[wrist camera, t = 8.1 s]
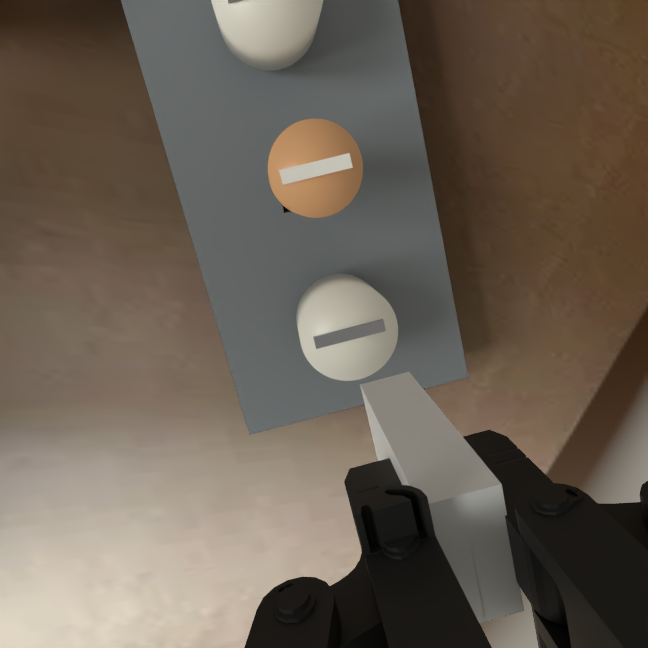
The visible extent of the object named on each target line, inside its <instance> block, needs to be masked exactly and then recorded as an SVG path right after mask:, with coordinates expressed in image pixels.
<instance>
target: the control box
mask: <svg viewBox="0 0 648 648" xmlns="http://www.w3.org/2000/svg"><path fill="white" fill-rule="evenodd" d="M121 3H122V6H123V9H124V13H125V16H126V20H127V23H128V26H129V30H130V33H131V36H132V40H133V43H134V46H135V50H136V53H137V57H138V60H139V63H140V67H141V70H142V73H143V77H144V80H145V84H146V87H147V90H148V94H149V97H150V100H151V104H152V107H153V111H154V114H155V117H156V121H157V124H158V127H159V131H160V134H161V138H162V141H163V144H164V148H165V151H166V154H167V158H168V161H169V165H170V168H171V171H172V175H173V178H174V181H175V185H176V188H177V192H178V195H179V198H180V202H181V205H182V208H183V212H184V215H185V219H186V222H187V225H188V229H189V232H190V235H191V239H192V242H193V246H194V249H195V252H196V256H197V259H198V262H199V266H200V269H201V272H202V276H203V279H204V283H205V286H206V289H207V293H208V296H209V299H210V303H211V306H212V310H213V313H214V316H215V320H216V323H217V326H218V330H219V333H220V337H221V340H222V343H223V347H224V350H225V353H226V357H227V360H228V364H229V367H230V370H231V374H232V377H233V380H234V384H235V387H236V391H237V394H238V397H239V401H240V404H241V407H242V411H243V414H244V418H245V421H246V424H247V428H248V431H249V434H250V435H251V434H254V433H258V432H262V431H266V430H270V429H273V428H277V427H281V426H285V425H289V424H292V423H296V422H300V421H304V420H308V419H311V418H315V417H319V416H323V415H327V414H330V413H334V412H338V411H342V410H346V409H349V408H353V407H357V406H361V405H365V404H364V399H363V395H362V391H361V387H360V384H364V383H368V382H371V381H375V380H379V379H383V378H387V377H391V376H394V375H398V374H402V373H406V372H410V373H411V375H412V376H413V377H414V378H415V379H416V381H417V382H418V383H419V384H420V386H421V387H422V388H423V389H425V388H429V387H433V386H437V385H441V384H444V383H448V382H452V381H456V380H460V379H463V378H467V377H468V373H467V367H466V362H465V357H464V351H463V346H462V341H461V335H460V330H459V325H458V319H457V314H456V308H455V303H454V298H453V292H452V287H451V282H450V276H449V271H448V266H447V260H446V255H445V249H444V244H443V239H442V233H441V228H440V223H439V217H438V212H437V207H436V201H435V196H434V190H433V185H432V180H431V174H430V169H429V164H428V158H427V153H426V148H425V142H424V137H423V131H422V126H421V121H420V115H419V110H418V105H417V99H416V94H415V89H414V83H413V78H412V72H411V67H410V62H409V56H408V51H407V46H406V40H405V35H404V30H403V24H402V19H401V13H400V8H399V3H398V0H323V5H322V9H321V13H320V17H319V21H318V25H317V29H316V33H315V36H314V39H313V42H312V44H311V46H310V47H309V49H308V51H307V52H306V53H305V54H304V56H303V57H302V58H301V59H299V60H298V61H297V62H296V63H294V64H293V65H291V66H289V67H287V68H284V69H280V70H274V71H266V70H260V69H256V68H253V67H251V66H249V65H247V64H245V63H243V62H242V61H241V60H239V59H238V58H237V57H236V56H235V55H234V54H233V53H232V52H231V51H230V49H229V48H228V46H227V45H226V43H225V41H224V39H223V37H222V35H221V31H220V28H219V25H218V22H217V18H216V15H215V12H214V9H213V5H212V2H211V0H121ZM306 119H324V120H328V121H331V122H334V123H336V124H338V125H339V126H341V127H342V128H344V129H345V130H346V131H347V132H348V133H349V134H350V135H351V136H352V137H353V139H354V140H355V142H356V143H357V145H358V147H359V150H360V152H361V156H362V161H363V177H362V181H361V185H360V187H359V190H358V192H357V194H356V195H355V197H354V198H353V200H352V201H351V202H350V203H349V204H348V205H347V206H346V207H345V208H344V209H342V210H341V211H339V212H337V213H335V214H333V215H330V216H327V217H322V218H310V217H305V216H301V215H299V214H296V213H294V212H292V211H290V210H289V211H285V212H284V210H283V206H282V204H281V203H280V202H279V201H278V200H277V198H276V197H275V195H274V193H273V191H272V189H271V186H270V182H269V177H268V159H269V154H270V151H271V148H272V146H273V144H274V142H275V141H276V139H277V138H278V136H279V135H280V134H281V133H282V132H283V131H284V130H285V129H286V128H288V127H289V126H291V125H292V124H294V123H296V122H299V121H302V120H306ZM333 274H348V275H353V276H355V277H358V278H360V279H362V280H364V281H365V282H366V283H368V284H369V285H370V286H371V287H372V288H374V289H375V290H376V291H377V292H378V293H380V294H381V295H382V296H383V297H384V298H385V299H386V300H387V301H388V303H389V304H390V305H391V307H392V309H393V311H394V313H395V315H396V319H397V323H398V339H397V343H396V347H395V349H394V352H393V354H392V355H391V357H390V359H389V360H388V361H387V363H386V364H385V365H384V366H383V367H382V368H381V369H379V370H378V371H377V372H375V373H374V374H372V375H370V376H368V377H365V378H362V379H359V380H353V381H341V380H336V379H332V378H329V377H327V376H325V375H323V374H322V373H320V372H318V371H317V370H316V369H315V368H314V367H313V366H312V365H311V364H310V363H309V361H308V360H307V358H306V357H305V355H304V353H303V350H302V347H301V343H300V338H299V333H298V328H297V323H296V313H297V307H298V304H299V301H300V299H301V297H302V295H303V294H304V292H305V291H306V290H307V289H308V287H309V286H311V285H312V284H313V283H314V282H316V281H317V280H319V279H321V278H323V277H325V276H329V275H333Z"/></svg>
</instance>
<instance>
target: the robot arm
mask: <svg viewBox="0 0 648 648" xmlns="http://www.w3.org/2000/svg"><path fill="white" fill-rule="evenodd" d="M360 387H361V391H362V395H363V399H364V404H365V408H366V412H367V416H368V421H369V425H370V429H371V433H372V438H373V442H374V446H375V450H376V455H377V459H378V461H377V462H373V463H369V464H366V465H362V466H358V467H354V468H351V469H350V470H349V472H348V474H347V477H346V479H345V481H344V482H345V486H346V490H347V494H348V498H349V502H350V506H351V510H352V514H353V518H354V522H355V525H356V529H357V533H358V537H359V541H360V545H361V549H362V554H361V558H360V561H359V562H358V564H357V566H356V567H355V568H354V569H353V570H352V571H351V572H350V573H349V574H348V575H347V576H346V577H344V578H343V579H341V580H340V581H339V582H337V583H335V584H333V585H331V586H329V585H328V584H327V583H326V582H325V581H322V580H320V579H318V578H315V577H299V578H295V579H291V580H287V581H286V582H284V583H282V584H280V585H278V586H276V587H274V588H273V589H272V590H271V591H270V592H269V593H268V594H267V595H266V596H265V597H264V598H263V600H262V601H261V603H260V605H259V607H258V609H257V611H256V614H255V617H254V620H253V623H252V627H251V630H250V633H249V636H248V639H247V642H246V645H245V648H491V645H490V644H489V642H488V640H487V637H486V636H485V634H484V632H483V630H482V628H481V626H480V624H479V623H482V622H486V621H489V620H493V619H496V618H500V617H503V616H507V615H511V614H514V613H518V612H521V611H524V608H523V602H522V596H521V591H520V587H521V589H522V591H523V592H524V594H525V595H526V597H527V598H528V600H529V601H530V603H531V605H532V611H533V617H534V623H535V629H536V634H537V640H538V646H539V648H648V481H647V482H646V483H644V484H643V485H642V487H641V491H640V499H641V502H637V503H619V504H598V503H596V502H595V501H594V500H593V499H592V498H591V497H590V496H589V495H588V494H586V493H584V492H583V491H581V490H580V489H578V488H576V487H572V486H569V485H565V484H556V483H553V482H552V481H551V480H550V479H549V478H548V477H547V476H546V475H545V474H544V473H543V472H542V471H541V470H540V469H539V468H538V467H537V466H536V465H535V464H534V463H533V462H532V461H531V460H530V459H529V458H526V455H525V454H524V453H523V452H522V451H521V450H520V449H518V448H517V446H516V445H515V444H514V443H513V442H512V441H511V440H510V439H509V438H508V437H507V436H504V435H501V434H499V433H496V432H494V431H491V430H487V431H483V432H479V433H475V434H472V435H468V436H464V437H462V435H461V434H460V433H459V432H458V430H457V429H456V428H455V427H454V426H453V424H452V423H451V422H450V421H449V420H448V418H447V417H446V416H445V415H444V413H443V412H442V411H441V410H440V409H439V407H438V406H437V405H436V404H435V403H434V401H433V400H432V399H431V398H430V396H429V395H428V394H427V393H426V392H425V390H424V389H423V388H422V387H421V386H420V384H419V383H418V382H417V381H416V379H415V378H414V377H413V376H412V375H411V373H410V372H406V373H402V374H398V375H394V376H391V377H387V378H383V379H379V380H375V381H371V382H368V383H364V384H360Z"/></svg>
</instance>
